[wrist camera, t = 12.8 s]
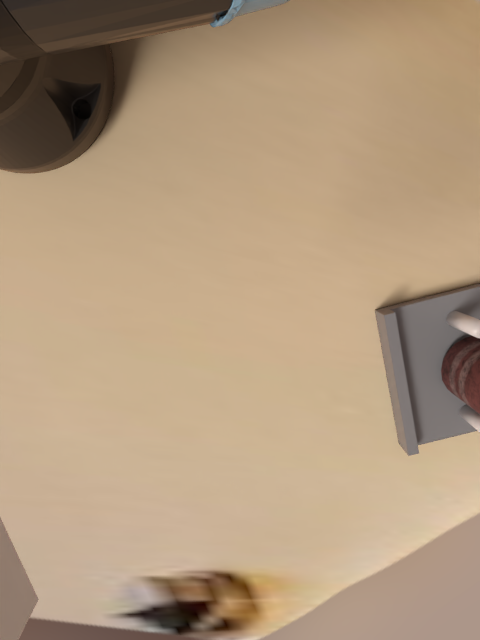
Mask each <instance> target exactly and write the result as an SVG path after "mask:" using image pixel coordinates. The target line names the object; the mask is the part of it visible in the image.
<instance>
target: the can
mask: <svg viewBox="0 0 480 640" xmlns="http://www.w3.org/2000/svg"><path fill="white" fill-rule="evenodd" d="M441 375H442V381H443V382H444V384H445V386H446V388H447V389H448V390H449V391H450V392H451V393H453V394H454V395H455V396H456V397H458V398H459V399H460V400H462V401H463V402H464V403H466V404H467V405H468V406H470V407H471V408H472V409H474V410H475V411H476V412H478V413H479V414H480V338H476V337H474V336H470V337H466V338H464V339H462V340H460V341H459V342H457V343H455V344H454V345H453V346H452V347H451V348H450V349H449V350H448V351H447V353H446V355H445V357H444V358H443V362H442V367H441Z"/></svg>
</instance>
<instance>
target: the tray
mask: <svg viewBox="0 0 480 640" xmlns="http://www.w3.org/2000/svg"><path fill="white" fill-rule="evenodd" d="M375 314H376V319H377V325H378V330H379V336H380V342H381V347H382V353H383V358H384V364H385V369H386V375H387V380H388V386H389V392H390V397H391V403H392V408H393V414H394V419H395V425H396V430H397V436H398V441H399V444H400V445H401V447H402V448H403V449H404V451H405V452H406V453H407V454H408V456H410V455H414V454H418V453H419V450H418V445H421V444H425V443H429V442H433V441H437V440H441V439H445V438H449V437H454V436H458V435H462V434H466V433H470V432H474V431H479V432H480V414H479V413H478V412H476V411H475V410H474V409H472V408H471V407H470V406H468V405H467V404H466V403H464V402H463V401H462V400H460V399H459V398H458V397H456V396H455V395H454V394H453V393H451V392H450V391H449V390H448V389H447V388H446V386H445V384H444V382H443V381H442V375H441V367H442V362H443V358H444V357H445V355H446V353H447V351H448V350H449V349H450V348H451V347H452V346H453V345H454V344H455V343H457V342H459V341H460V340H462V339H464V338H466V337H470V336H474V337H476V338H480V283H479V284H475V285H471V286H467V287H463V288H459V289H455V290H452V291H448V292H444V293H440V294H436V295H432V296H428V297H424V298H420V299H416V300H412V301H408V302H405V303H401V304H397V305H393V306H389V307H385V308H381V309H377V310H375Z"/></svg>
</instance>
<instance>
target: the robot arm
mask: <svg viewBox="0 0 480 640" xmlns="http://www.w3.org/2000/svg"><path fill="white" fill-rule="evenodd" d="M288 1H290V0H0V169H1V170H5V171H10V172H15V173H40V172H46V171H50V170H53V169H56V168H59V167H61V166H64V165H66V164H68V163H70V162H71V161H73V160H74V159H76V158H77V157H79V156H80V155H81V154H82V153H83V152H85V151H86V150H87V149H88V148H89V147H90V146H91V144H92V143H93V142H94V141H95V139H96V138H97V136H98V135H99V133H100V132H101V130H102V128H103V126H104V124H105V122H106V120H107V117H108V114H109V111H110V108H111V104H112V99H113V92H114V66H113V59H112V54H111V50H110V46H109V44H110V43H115V42H120V41H125V40H130V39H135V38H140V37H145V36H150V35H155V34H160V33H165V32H170V31H175V30H180V29H185V28H190V27H196V26H201V25H206V24H210V25H211V26H212V27H217V26H223V25H225V24H227V23H229V22H230V21H231V20H232V19H233V18H234V17H236V16H240V15H243V14H247V13H251V12H255V11H258V10H262V9H266V8H270V7H274V6H277V5H281V4H284V3H286V2H288ZM37 601H38V597H37V595H36V593H35V591H34V589H33V586H32V584H31V582H30V580H29V578H28V576H27V574H26V572H25V569H24V567H23V565H22V563H21V561H20V559H19V557H18V554H17V552H16V550H15V548H14V546H13V544H12V542H11V539H10V537H9V535H8V533H7V531H6V529H5V527H4V524H3V522H2V520H1V518H0V640H18V639H19V637H20V635H21V633H22V631H23V629H24V627H25V625H26V623H27V621H28V619H29V617H30V615H31V613H32V611H33V609H34V607H35V605H36V603H37Z"/></svg>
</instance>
